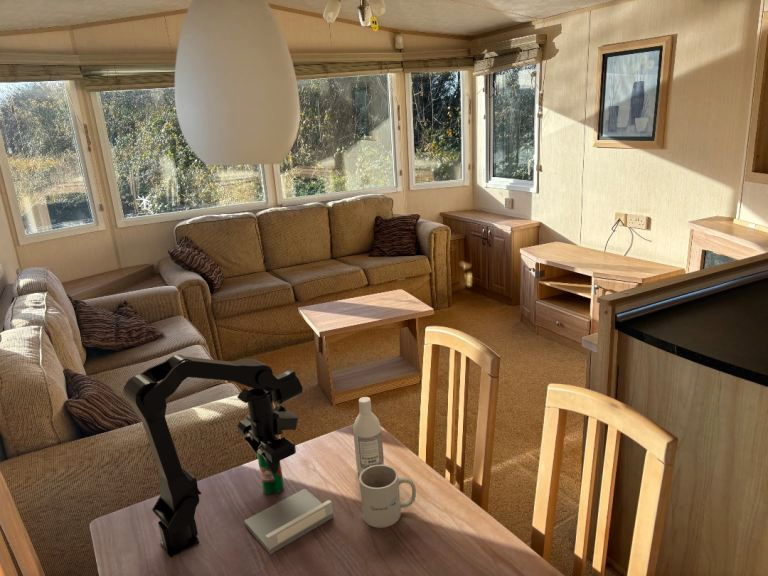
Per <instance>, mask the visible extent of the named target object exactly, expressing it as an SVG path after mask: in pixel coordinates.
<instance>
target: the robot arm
mask: <svg viewBox="0 0 768 576" xmlns="http://www.w3.org/2000/svg"><path fill="white" fill-rule="evenodd" d="M188 378H192V379H203V380H215V381H227V382H234V383H239V384H241V385H242V386H246V387H248V388H249V389H247V388H245V387H244V388H243V389H242V390H241V391H240V392H239V394H238V395H237V399H238V400H239V401H241V402H242V403H245V404H247V408H248V413H249V414H246V418H245V419H242V420H240V421H239V422H238V424H237V427H236V428H237V434H239V435H240V436H241V437H244V441H245V442H246V443H247V445H248V446H249V448H250V449H251V450H252V451H253V452H254V454H255V455H256V456H257V450H258V446H259V445H260V444H261V443H262V444H264V445H267V444H268V445H267V446H266V448H265V449H264V453H262V454H261V455H262V456H263V458H264V460H265V461H266V463H267V465H268V466H269V468H270V469H271V471H272V472H273V474H274V473H276V472H277V471H278V467H279V463H280V464H281V461H282V460H284V459H287V458H288V457H291V456H294V455H295V454H296V453H297V450H296V449H297V448H296V444H295V443H294V442H292V441H291V440H290V439H289V438H287V437H285V436H283V437H281V438H278V437H277V436H280V435H282V434H283V431H296V430H297V428H298V424H299V423H298V422H299V418H300V417H299V416H298V415H297V414H296V413H294V412H292V411H289V410H288V409H286V407H285V406H284V405H282V404H284V403H286V402H288V401H291V400H292V399H294V398H296V397H299V396H301V395H302V394H303V385H302V383H301V381H300V380H299V378H298V376H297V375H296V371H294V370H292V369H288V370H285V372H283V373H281V374H278V375H274V374H273V370H272V367H271V366H270V365H268V364H265V363H263V362H261V361H259V360H257V359H255V358H241V359H238V360H234V361H233V360H232V361H226V360H219V359H218V360H217V359H211V358H204V357H203V358H202V357H193V356H185V355H182V354H174V355H172V356H171V357H169V358H168V359H166V360H165V361H162V362H161V363H160V362H159V363H158V364H156V365H154V366H150V367H148V368H147V369H146V370H144V371H142V372H141V373H140V374H137V375H134V376H132V377H130V378H129V379H128V380H127V381H126V383H125V384H124V386H123V389H122V392H123V395H124V397H125V398H126V401H127V402H128V403H129V405H130V407H131V408H132V409H133V411H134V412H135V414H136V416H138V418H139V420H141V423H142V426H143V428H144V431H145V434H146V437H147V441H148V443H149V446H150V449H151V451H152V454H153V457H154V461H155V463H156V466H157V469H158V472H159V474H160V478H159V479H160V480H159V493H160V496H159V497H158V499H157V500H156V501H155V504H154V506H153V508H152V509H151V511H152V512H153V514H154V515H155V516H156V517H157V518H158V519H159V521H158V522H157V525H158V530H159V532H160V533H159V534H160V538H161V539H160V544H161V546H162V547H163V549H164V551H165V552H166V554H167V556H168V557H169V558H173V557H175V556H177V555H179V554H181V553H182V552H184V551H186V550H189V549H190V548H192V547H194V546H196V545H197V544H199V543H200V539H199V537H197V536H198V535H199V532H198V528H197V522H196V518H195V517H196V516H195V515H196V510H197V507H198V505H199V504H200V495H202V492H201V491H200V489H199V487H198V481H197V478H196V477H195V476H194V475H193V474H192V473H191V472H189V470H187V468H185V467H183V468H182V464H181V462H180V459H179V455H178V451H177V450H176V447H175V444H174V443H175V442H174V440H173V438H172V435H171V432H170V428H169V426H168V423H167V419H166V413H167V408H168V406H167V399H168V398H169V397H170V396H171V395H173V394H174V393H175V392H176V391H177V389H178V388H179V387H180V386H181V384H182V383H183V381H185V380H186V379H188ZM274 403H277V404H276V405H275V407H274ZM245 436H246V437H245Z"/></svg>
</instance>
